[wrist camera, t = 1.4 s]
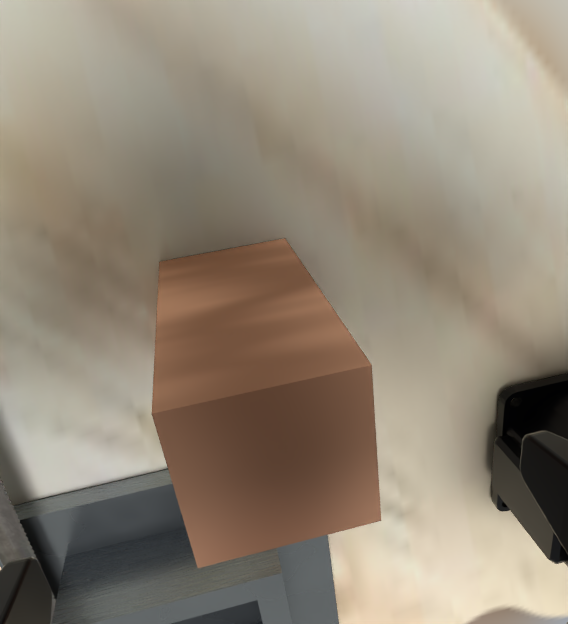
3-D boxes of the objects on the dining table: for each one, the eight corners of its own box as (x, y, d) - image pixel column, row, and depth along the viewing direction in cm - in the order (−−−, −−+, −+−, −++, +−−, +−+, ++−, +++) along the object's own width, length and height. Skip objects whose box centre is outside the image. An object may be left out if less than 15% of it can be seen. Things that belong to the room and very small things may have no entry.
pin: (284, 238, 17) (371, 365, 10) (299, 345, 18) (380, 520, 11) (159, 261, 16) (151, 413, 9) (186, 370, 18) (198, 568, 11)
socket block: (311, 435, 20) (340, 509, 17) (336, 628, 25) (362, 713, 22) (-13, 511, 19) (-53, 609, 15) (86, 699, 24) (72, 802, 21)
